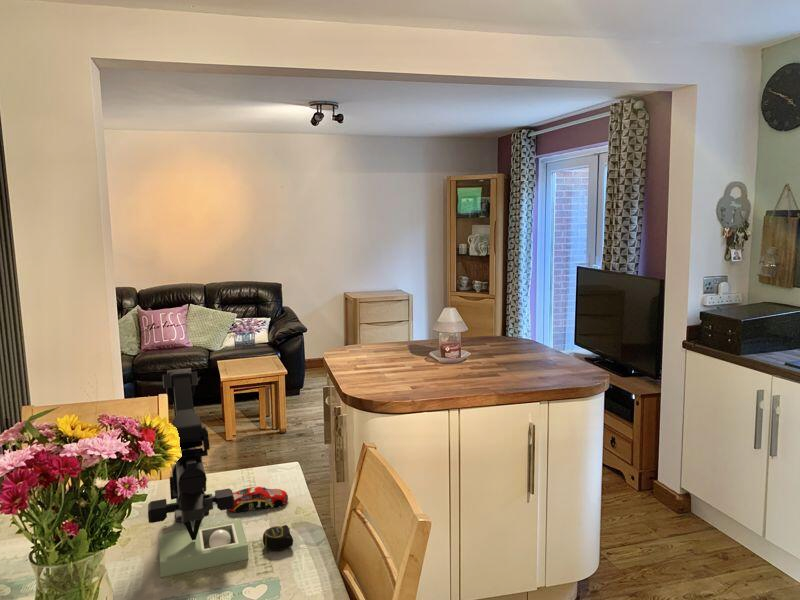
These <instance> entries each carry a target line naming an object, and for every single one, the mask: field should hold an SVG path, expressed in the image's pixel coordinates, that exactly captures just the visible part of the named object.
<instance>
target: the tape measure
mask: <svg viewBox="0 0 800 600" xmlns="http://www.w3.org/2000/svg"><path fill="white" fill-rule="evenodd" d="M290 529H291V528H290V527H289V525H287V524H283V525H280V526H278V525H277V526H275V525H274V526H271V527H269V528H267V529H266V530H265V531H264V533H263V534H262V544H263V546H264V547H265V549H267V550H269V551H273V552H274V551H276V552H277V551H280V550H284V549H288V548H291V547H292V546H293V545H294V538H293V536H292V534H291V530H290Z"/></svg>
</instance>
